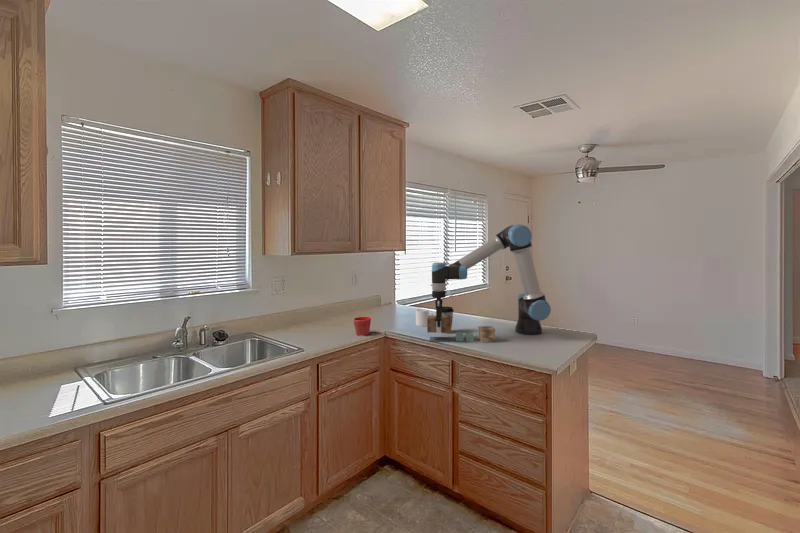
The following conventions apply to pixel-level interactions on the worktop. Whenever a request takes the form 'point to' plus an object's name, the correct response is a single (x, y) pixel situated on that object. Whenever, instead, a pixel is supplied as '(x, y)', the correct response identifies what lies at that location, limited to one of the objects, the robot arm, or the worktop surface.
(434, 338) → the mat
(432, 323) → the brown wooden box
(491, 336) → the oak box
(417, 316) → the cup
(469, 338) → the cube
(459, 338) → the cube
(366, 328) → the flower pot
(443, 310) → the coffee cup
